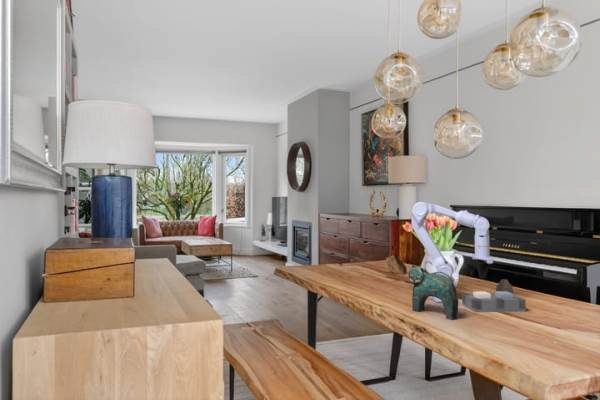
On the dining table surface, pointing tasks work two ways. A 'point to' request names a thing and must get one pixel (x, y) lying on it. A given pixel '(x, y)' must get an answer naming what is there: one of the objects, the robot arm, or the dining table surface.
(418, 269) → the ceramic cat
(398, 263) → the decorative rock
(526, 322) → the dining table surface
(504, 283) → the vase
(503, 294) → the slate key
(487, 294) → the white block
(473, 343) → the dining table surface
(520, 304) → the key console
